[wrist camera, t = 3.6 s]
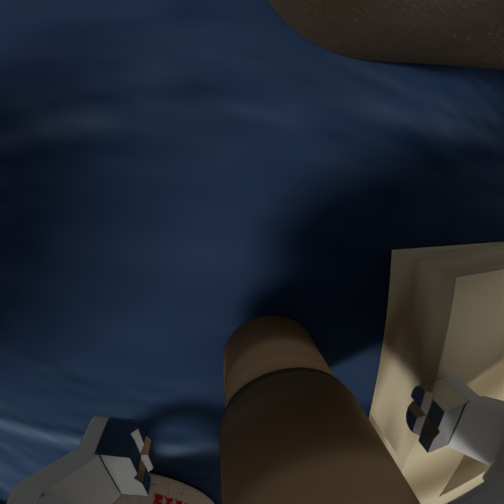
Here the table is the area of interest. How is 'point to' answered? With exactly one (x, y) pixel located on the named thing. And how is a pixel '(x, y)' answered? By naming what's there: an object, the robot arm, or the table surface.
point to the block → (439, 353)
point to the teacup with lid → (166, 493)
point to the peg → (297, 426)
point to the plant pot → (403, 29)
